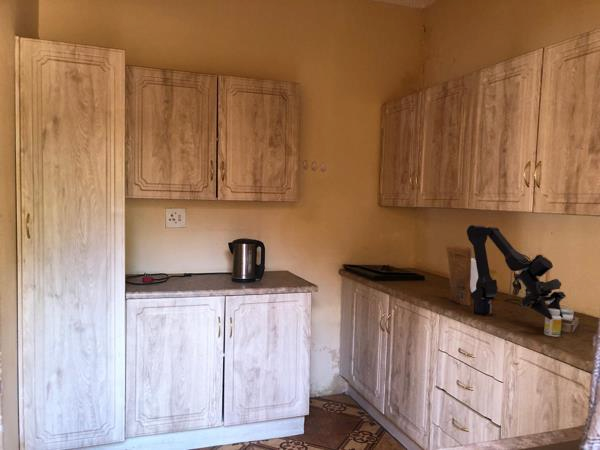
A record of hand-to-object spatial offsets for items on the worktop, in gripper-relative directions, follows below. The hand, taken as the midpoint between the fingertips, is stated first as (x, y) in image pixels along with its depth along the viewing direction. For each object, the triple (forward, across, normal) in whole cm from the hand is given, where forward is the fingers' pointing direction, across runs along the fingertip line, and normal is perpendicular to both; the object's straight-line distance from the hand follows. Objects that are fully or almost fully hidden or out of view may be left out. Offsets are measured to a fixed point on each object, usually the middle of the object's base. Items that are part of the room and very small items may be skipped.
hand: (556, 318), depth 168 cm
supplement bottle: (+4, 0, +6) cm, 7 cm away
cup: (-48, +37, +57) cm, 83 cm away
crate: (0, +14, +10) cm, 17 cm away
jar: (-2, +18, +10) cm, 20 cm away
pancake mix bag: (-35, +7, +45) cm, 57 cm away
